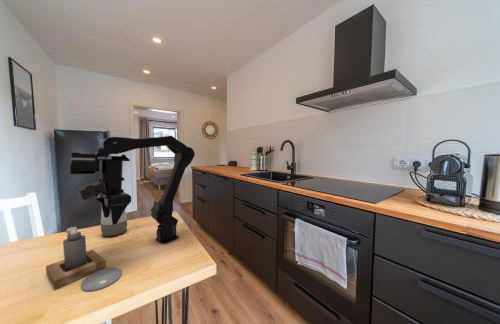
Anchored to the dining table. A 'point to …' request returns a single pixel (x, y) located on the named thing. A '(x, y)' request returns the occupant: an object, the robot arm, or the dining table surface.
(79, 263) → the pepper mill
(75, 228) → the rook chess piece
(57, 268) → the mill stand
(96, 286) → the slate coaster
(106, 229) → the smart speaker
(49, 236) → the dining table surface
